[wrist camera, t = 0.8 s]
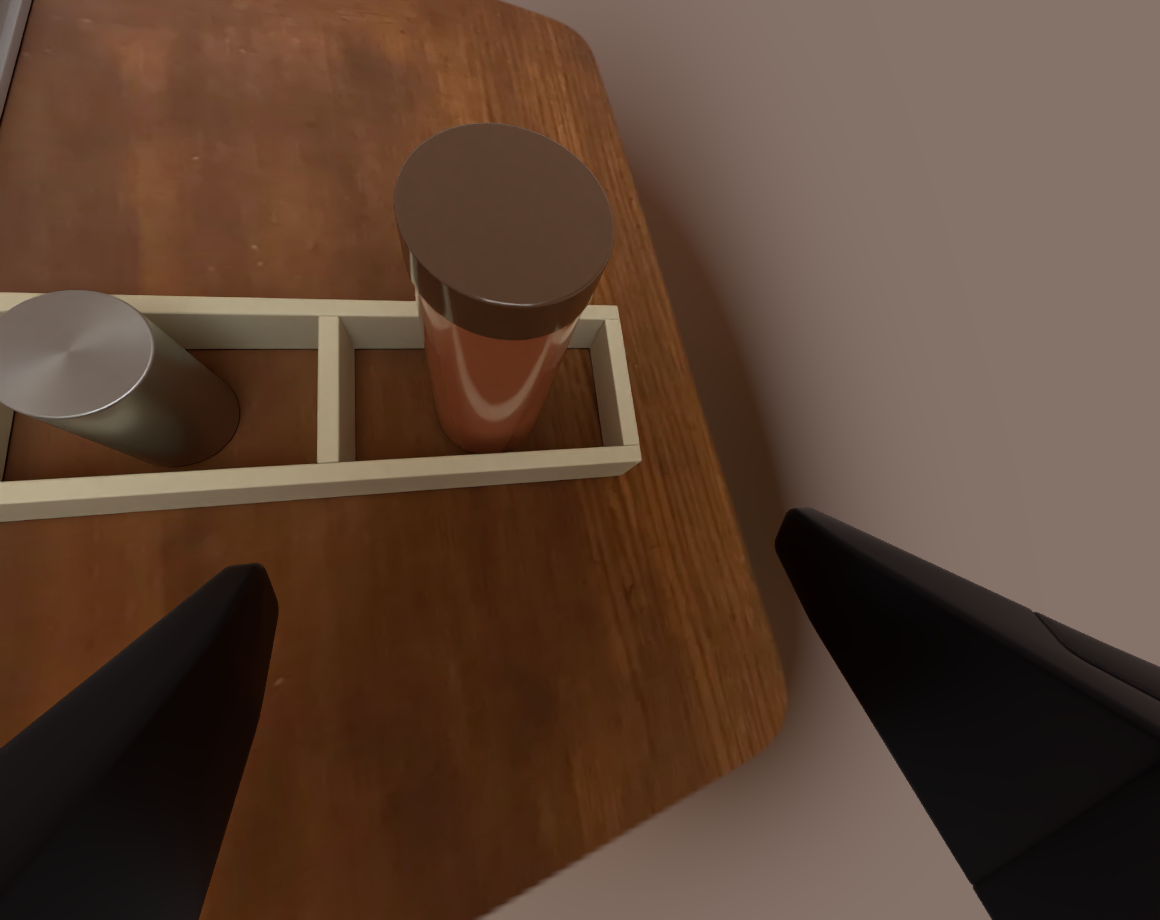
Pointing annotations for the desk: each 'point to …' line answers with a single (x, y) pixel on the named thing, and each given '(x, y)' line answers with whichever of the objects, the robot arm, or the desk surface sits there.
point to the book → (10, 40)
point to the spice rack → (327, 413)
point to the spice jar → (498, 271)
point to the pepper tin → (112, 378)
